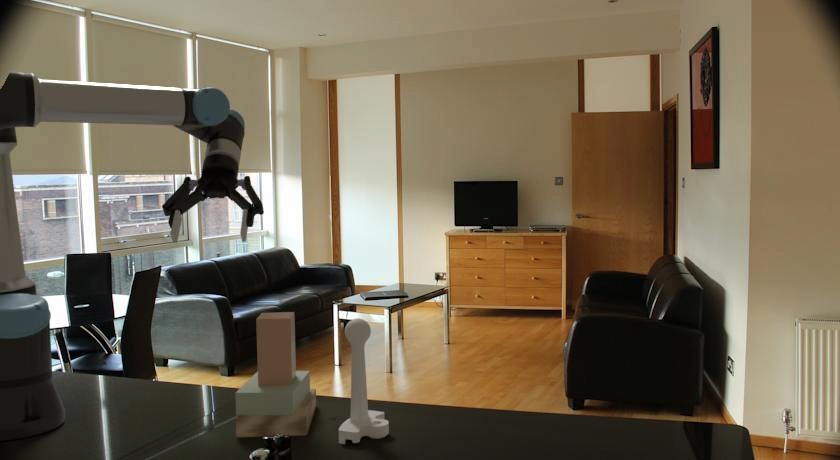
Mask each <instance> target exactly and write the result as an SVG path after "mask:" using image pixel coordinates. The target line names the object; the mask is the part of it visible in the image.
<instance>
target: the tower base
mask: <svg viewBox="0 0 840 460" xmlns="http://www.w3.org/2000/svg"><path fill="white" fill-rule="evenodd" d="M316 408H317V389H316V388H310V392H309V394H308V395H307V397H306V398H305V399H304V401H303V402H302V404H301V405H300V407H299V408H298V410H297V411H296V412H295V414H294V415H293V416H287V415H236V417H235V433H236V434H235V438H249V437H250V438H256V437H257V438H258V437H259V438H260V437H273V436H272V435H277V434H285V435H289V436H290V437H291V436H292V437H293V436H307V435H308V433H309V431H310V426H311V425H312V424H311V423H312V420H313V417H314V414H315V412H316V411H315V410H316ZM289 436H288V437H289Z"/></svg>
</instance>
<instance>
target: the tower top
mask: <svg viewBox="0 0 840 460" xmlns="http://www.w3.org/2000/svg"><path fill="white" fill-rule="evenodd" d="M310 374H311V373H310V370H296V377H295V379H294V381H293V384H292V385H264V386H258V371H257V372H255V373H254V374H253V376H251V377H250V378H249V379H248V380H247V381H246V382H244V384H243V385H242V386H241V387H239V388H238V390H237V391H235V394H234V395H235V396H234V397H235V415H236V416H237V415H287V416H293V415H294V414H295V412H296V411H297V410H298V408H299V407H300V405H301V404H302V402H303V401H304V399H305V398H306V397H307V395H308V394H309V392H310V389H311V379H310V377H311V376H310Z"/></svg>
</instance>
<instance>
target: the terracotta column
mask: <svg viewBox="0 0 840 460" xmlns="http://www.w3.org/2000/svg"><path fill="white" fill-rule="evenodd" d="M295 317H296V316H295V311H292V312H291V311H283V312H282V311H281V312H278V311H277V312H261V313H260V314H259V315H258V317H257V318H256V319H255V321H256V322H255V323H256V325H255V327H256V352H257V354H256V356H257V357H256V358H257V359H256V360H257V362H256V363H257V372H258V386H264V385H292V384H293V381H294V379H295V377H296V371H297V369H296V368H297V365H296V364H297V362H296V361H297V360H296V327H295V326H296V323H295V322H296V321H295V320H296V318H295Z"/></svg>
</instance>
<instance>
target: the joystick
mask: <svg viewBox="0 0 840 460" xmlns="http://www.w3.org/2000/svg"><path fill="white" fill-rule="evenodd" d="M371 332H372V329H371V325H370V323H369V322H367V321H366V320H365V319H362V318H353V319H351V320H349V321H348V322H347V323H346V325H345V328H344V335H345V338H346V340H347V341H348V342H349V343H350V346H351V371H350V372H351V373H350V374H351V376H350V417H349V418H348V419H346V420H345V421H344V422H343V423H341V424H340V426H339V428H338V444H340V445H346V443H347V440H350V441H352V443H353V444H357V443H358V444H359V443H360V442H361V439H362V438H363V437H368V438H369V439H374V440H375V439H383V438H385V437H387V436H388V435H389V433H390V430H389V429H390V427H389V426H390V422H389V420H387V419H385V411H378V410H370V409H369V407H368V406H369V404H368V403H369V402H368V389H367V388H368V387H367V371H366V369H367V368H366V355H365V354H366V353H365V351H366V350H365V346H366V342H367V341H368V340H369V339H370V336H371V334H372V333H371Z"/></svg>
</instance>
